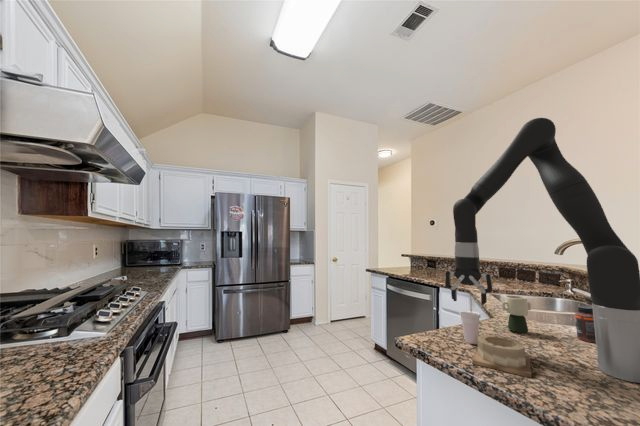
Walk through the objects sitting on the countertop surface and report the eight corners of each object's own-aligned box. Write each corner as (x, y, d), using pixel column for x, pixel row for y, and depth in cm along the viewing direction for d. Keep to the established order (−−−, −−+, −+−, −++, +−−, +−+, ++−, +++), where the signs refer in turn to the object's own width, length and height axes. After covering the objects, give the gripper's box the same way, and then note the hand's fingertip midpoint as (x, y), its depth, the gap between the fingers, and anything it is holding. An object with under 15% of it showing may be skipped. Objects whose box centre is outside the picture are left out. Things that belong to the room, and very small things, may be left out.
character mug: (525, 328, 105) (522, 295, 107) (540, 335, 98) (537, 298, 100) (497, 328, 105) (495, 295, 107) (510, 334, 98) (507, 298, 100)
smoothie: (480, 347, 87) (478, 303, 88) (459, 342, 90) (457, 300, 92) (483, 341, 92) (480, 299, 93) (462, 337, 95) (460, 297, 97)
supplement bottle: (606, 343, 90) (602, 309, 91) (588, 343, 90) (585, 309, 92) (589, 337, 96) (586, 305, 97) (572, 337, 96) (569, 304, 97)
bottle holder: (529, 359, 77) (527, 340, 78) (531, 377, 67) (529, 355, 68) (477, 349, 85) (476, 331, 86) (472, 363, 75) (471, 343, 75)
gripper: (491, 256, 93) (493, 303, 91) (447, 254, 101) (448, 297, 100) (489, 257, 87) (492, 308, 85) (442, 255, 95) (444, 301, 94)
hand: (468, 302), depth 93 cm, fingers open, 8 cm apart
